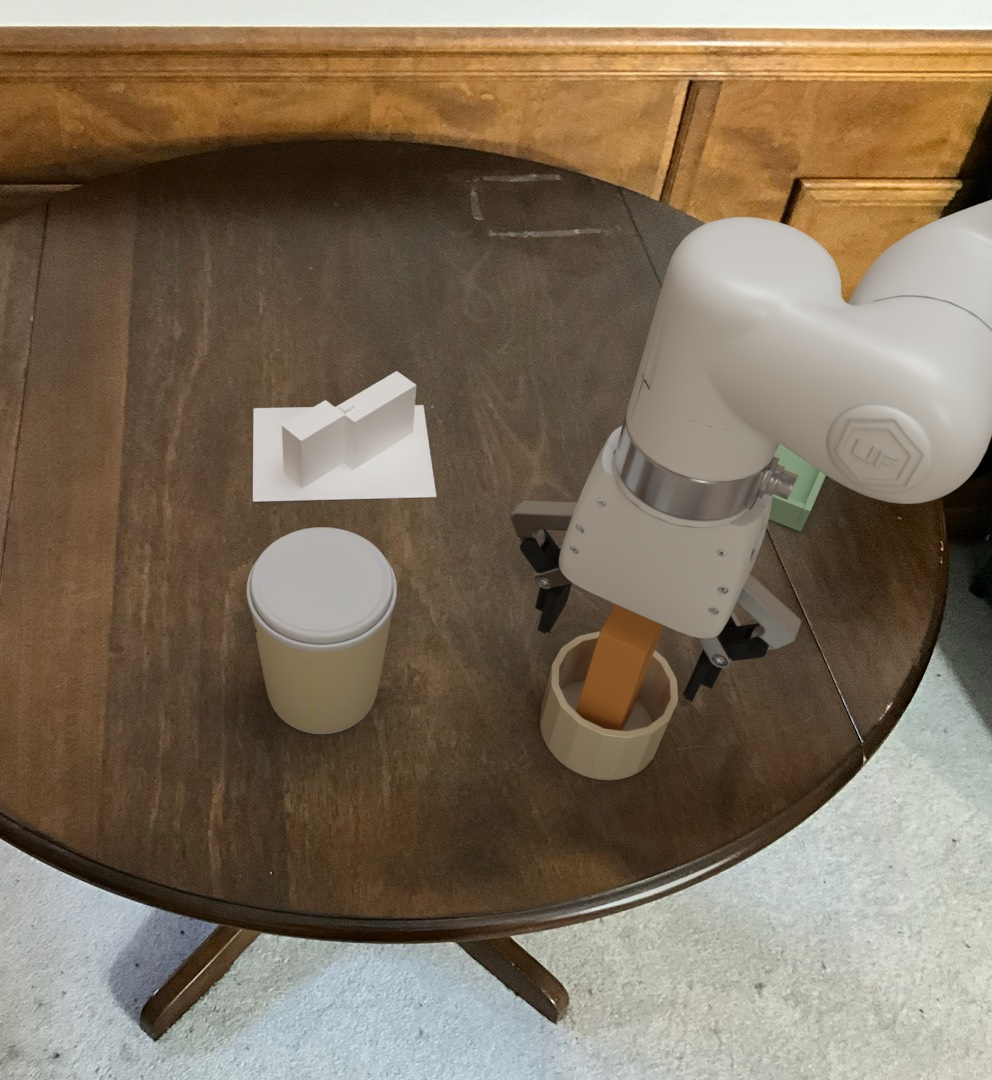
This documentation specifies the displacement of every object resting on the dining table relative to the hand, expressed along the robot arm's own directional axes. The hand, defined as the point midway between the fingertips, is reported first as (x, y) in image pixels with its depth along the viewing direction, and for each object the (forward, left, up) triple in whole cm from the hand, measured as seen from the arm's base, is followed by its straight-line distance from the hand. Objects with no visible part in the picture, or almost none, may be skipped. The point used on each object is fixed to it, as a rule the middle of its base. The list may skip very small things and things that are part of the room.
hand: (621, 649), depth 70 cm
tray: (+1, -32, -9) cm, 33 cm away
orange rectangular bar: (0, 0, -9) cm, 9 cm away
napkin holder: (+29, -14, -9) cm, 33 cm away
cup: (0, 0, -9) cm, 9 cm away
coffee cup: (+18, +7, -9) cm, 21 cm away
